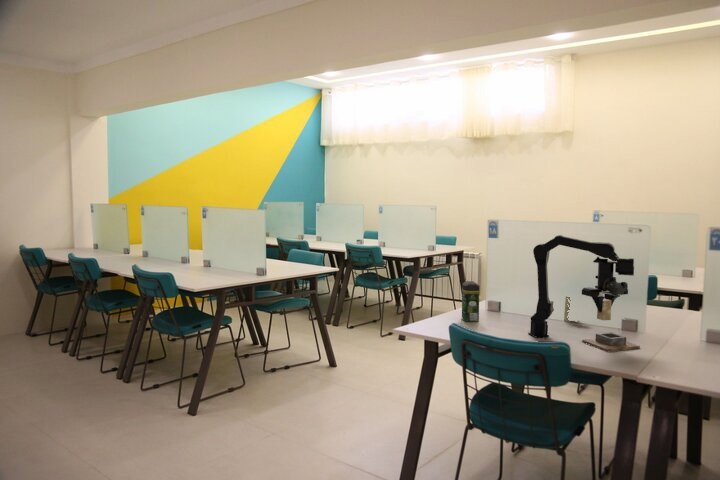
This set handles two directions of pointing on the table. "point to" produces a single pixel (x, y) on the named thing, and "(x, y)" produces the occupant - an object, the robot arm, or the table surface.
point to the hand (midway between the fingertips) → (604, 311)
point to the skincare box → (566, 308)
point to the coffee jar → (470, 301)
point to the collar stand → (611, 342)
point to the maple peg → (605, 310)
